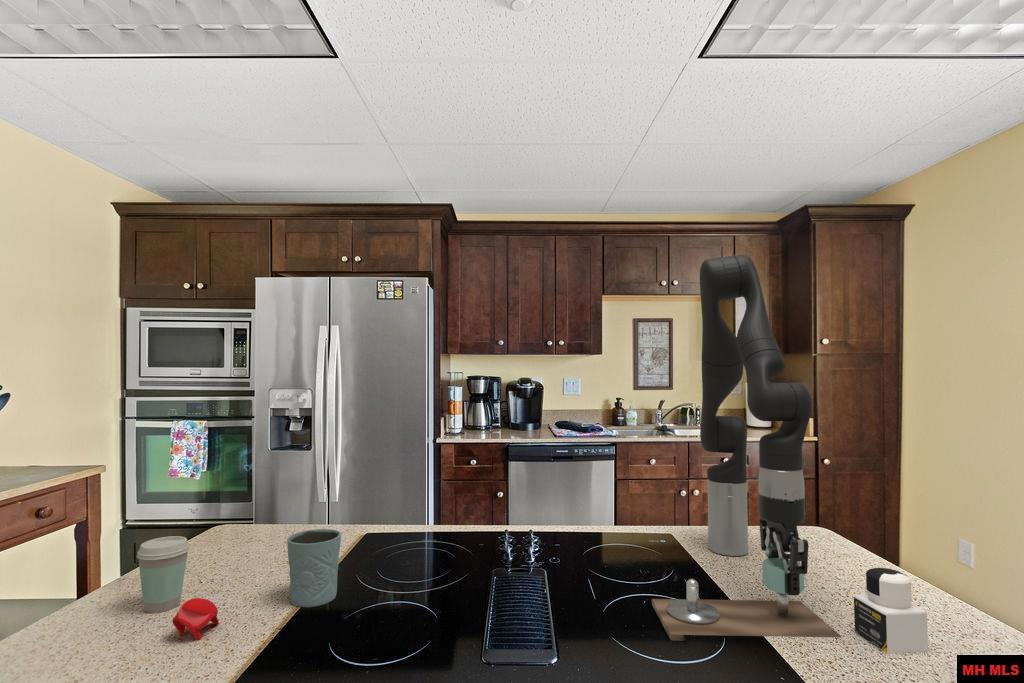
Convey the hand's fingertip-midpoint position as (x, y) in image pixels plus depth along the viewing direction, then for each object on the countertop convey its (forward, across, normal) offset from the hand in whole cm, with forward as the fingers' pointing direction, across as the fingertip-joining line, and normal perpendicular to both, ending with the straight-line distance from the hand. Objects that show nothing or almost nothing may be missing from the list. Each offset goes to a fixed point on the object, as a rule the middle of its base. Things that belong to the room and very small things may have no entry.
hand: (783, 586), depth 98 cm
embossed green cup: (+6, -7, -88) cm, 89 cm away
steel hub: (+6, 0, -16) cm, 17 cm away
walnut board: (+6, +1, -8) cm, 10 cm away
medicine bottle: (+6, +10, +13) cm, 17 cm away
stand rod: (+6, 0, 0) cm, 6 cm away
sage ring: (0, 0, 0) cm, 0 cm away
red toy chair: (+6, +8, -102) cm, 103 cm away
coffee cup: (+6, -2, -115) cm, 115 cm away
